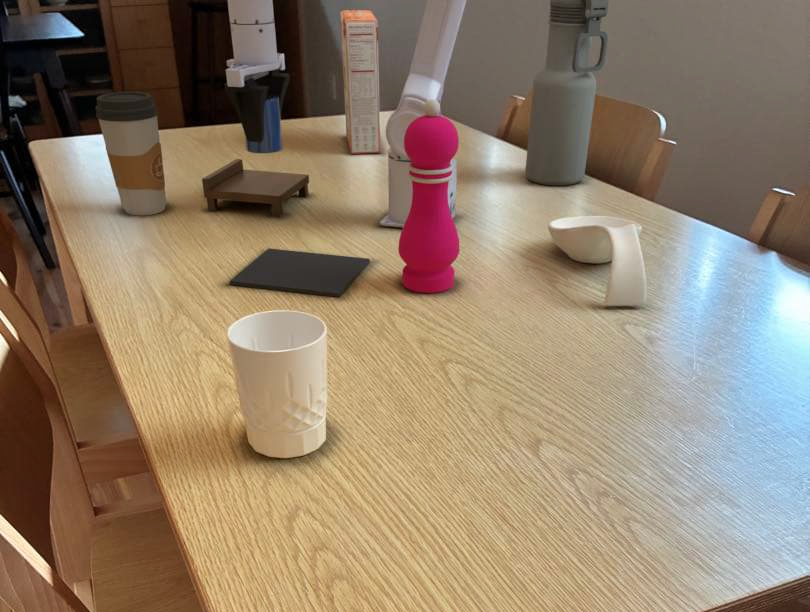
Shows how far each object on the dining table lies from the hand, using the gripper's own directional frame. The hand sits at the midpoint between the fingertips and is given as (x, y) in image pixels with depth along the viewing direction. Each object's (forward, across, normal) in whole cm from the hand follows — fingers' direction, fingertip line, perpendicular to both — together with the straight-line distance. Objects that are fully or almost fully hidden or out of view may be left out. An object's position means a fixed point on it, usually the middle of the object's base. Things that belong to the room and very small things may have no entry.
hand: (263, 136), depth 113 cm
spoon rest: (+11, +10, +49) cm, 52 cm away
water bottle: (+11, -30, +38) cm, 50 cm away
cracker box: (+11, -43, 0) cm, 44 cm away
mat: (+10, +22, +14) cm, 28 cm away
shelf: (+10, -4, -4) cm, 12 cm away
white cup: (+11, +59, +27) cm, 65 cm away
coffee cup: (+10, +4, -19) cm, 22 cm away
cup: (+2, 0, 0) cm, 2 cm away
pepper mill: (+11, +21, +30) cm, 38 cm away
